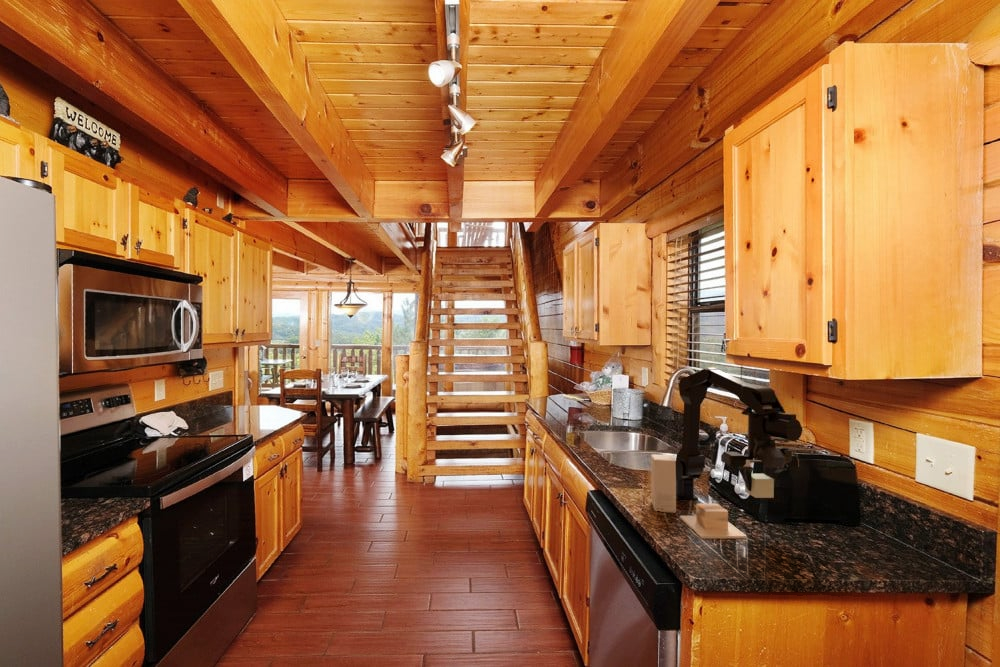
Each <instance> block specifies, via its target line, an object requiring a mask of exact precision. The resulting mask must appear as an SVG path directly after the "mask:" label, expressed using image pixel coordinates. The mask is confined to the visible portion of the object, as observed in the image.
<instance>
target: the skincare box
mask: <svg viewBox="0 0 1000 667" xmlns="http://www.w3.org/2000/svg"><path fill="white" fill-rule="evenodd" d="M650 457H651V458H650V460H651V462H650V465H651V466H650V467H651V468H650V469H651V504H652V507H653V510H654V512H657V511H660V513H669V514H670V513H674V514H675V513H677V497H676V459H675V458H674V457H673V455H672V454H651V455H650Z"/></svg>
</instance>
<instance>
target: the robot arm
mask: <svg viewBox="0 0 1000 667" xmlns="http://www.w3.org/2000/svg"><path fill="white" fill-rule="evenodd" d="M713 386H716V387H718V388H721V389H723V390H725V391H727V392H728V393H731V394H732V395H735V396H736V397H738V399H739V401H740V402H741V403H742V404H743V405H744V406H746V408H745V409H743V411H741V414H742V415H744V416H747V434H745V435H744V436H745V438H744V439H745V440H747V449H744V454H745V455H744V454H741V453H739V452H738V451H723V452H722V453H721V456H720V462H722V463H724V464H725V465H727V466H729V467H733V468H737V469H738V471H739V473H740V475H741V477H742V481H743V482H744V486H745V485H746V487H747V489H748V490H749V491H751V488H752V474H753V471H754V470H755V469H754V467H752V466H751V464H752V463H756V464H757V463H759V464H760V463H762V464H763V465H764V474H765V475H767V476H769V477H771V478H773V479H774V483H775V482H776V480H777V477H778V475H780V473H781V472H783V471H785V470H786V471H787V469H788V468H799V467H800V460H799V458H798V456H797V455H794V454H793V451H792V449H790V448H789V447H782V448H781V447H777V446H776V441H775V439H774V438H776V439H781V440H786V441H790V442H797V441H799V439H800V438H801V436H802V434H803V427H802V423H801V422H800V421H799V420H798V419H797V414H795V413H786V411H785V409H784V407H783V405H782V404H781V402H780V400H779V398H778V397H777V395H776V391H775V390H774V389H773V388H772V387H768V386H764V385H759V384H753V383H748V382H746V381H743V380H742V379H739V378H737V377H735V376H733V375H730V374H728V373H726V372H724V371H722V370H721V369H719V368H717V367H704V368H702V369H701V370H699V371H697V372H695V373H692V374H690V375H687V376H683V377H682V378H680V379H679V382H678V390H679V391H678V392H679V393H678V394H679V396H680V398H681V400H682V402H683V419H682V420H683V421H682V422H683V423H682V439H681V440H682V441H681V444H682V445H681V447H680V449H679V450H678V452H677V454H676V458H675V461H676V499H678V500H699V497H698V496H697V495H696V494H695V479H701V476H702V473H703V472H704V469H705V468H706V464H705V461H706V456H705V455H704V454H702V452H701V450H700V448H699V445H700V443H699V442H700V427H701V426H700V424H701V407H702V406H701V405H702V403H703V402H704V401H705V399H706V397H707V392H708V389H710V388H711V387H713ZM772 437H773V438H772ZM787 467H788V468H787Z"/></svg>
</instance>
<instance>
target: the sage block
mask: <svg viewBox="0 0 1000 667" xmlns="http://www.w3.org/2000/svg"><path fill="white" fill-rule="evenodd" d="M774 487H775V482H774V479H773V478H771V477H769V476H767V475H765V473H752V488H751V491H749V490H748V489H747V487H746V485H745V484H744V492H745V493H747V494H748V495H749V496H752V497H753V498H755V499H756V498H757V499H760V498H761V499H762V498H763V499H765V498H767V499H771V498H772V499H774V496H775V495H774V494H775V492H774V489H775V488H774Z"/></svg>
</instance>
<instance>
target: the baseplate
mask: <svg viewBox="0 0 1000 667" xmlns="http://www.w3.org/2000/svg"><path fill="white" fill-rule="evenodd" d="M679 518H680V520H682V521H683V522H684V523H685V524H686V525H687V527H689V528H690V529H691V530H692V529H693V530H694V531H695V532H696V533H695V532H694V531H693V530H692V531H693V532H694V533H695V534H697V535H698V537H699V538H701V539H747V538H748V536H747V535H746V534H745V533H743V532H742V531H741V530H740V529H738V528H737V527H736V526H735V525H733V524H732V523H731V522H729V521H728V530H706V529H704V528H703V527H702V526H701V525H700V524H699V523H698V522H697V521H696V515H679Z"/></svg>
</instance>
